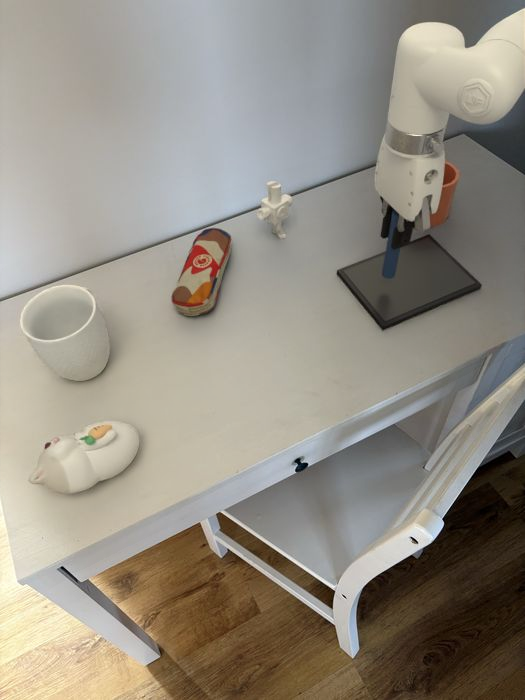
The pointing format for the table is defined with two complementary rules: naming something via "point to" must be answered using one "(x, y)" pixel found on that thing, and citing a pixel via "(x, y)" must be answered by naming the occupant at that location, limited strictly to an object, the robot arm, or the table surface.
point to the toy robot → (275, 208)
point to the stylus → (391, 250)
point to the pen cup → (445, 194)
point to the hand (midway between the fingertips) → (394, 239)
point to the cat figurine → (86, 457)
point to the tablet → (408, 282)
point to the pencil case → (202, 273)
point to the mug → (67, 331)
